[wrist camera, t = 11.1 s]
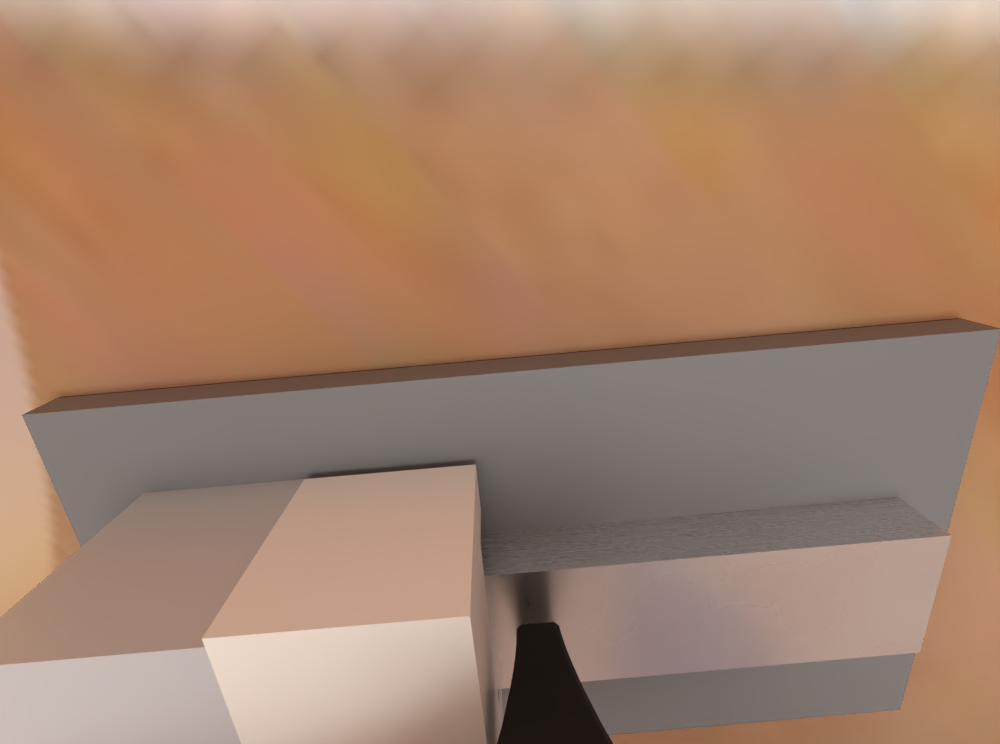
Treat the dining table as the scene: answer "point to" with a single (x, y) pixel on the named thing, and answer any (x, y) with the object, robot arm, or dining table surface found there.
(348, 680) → the din module
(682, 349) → the mounting board
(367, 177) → the dining table surface
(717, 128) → the dining table surface
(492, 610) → the din rail
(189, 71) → the dining table surface
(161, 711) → the module
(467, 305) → the dining table surface
